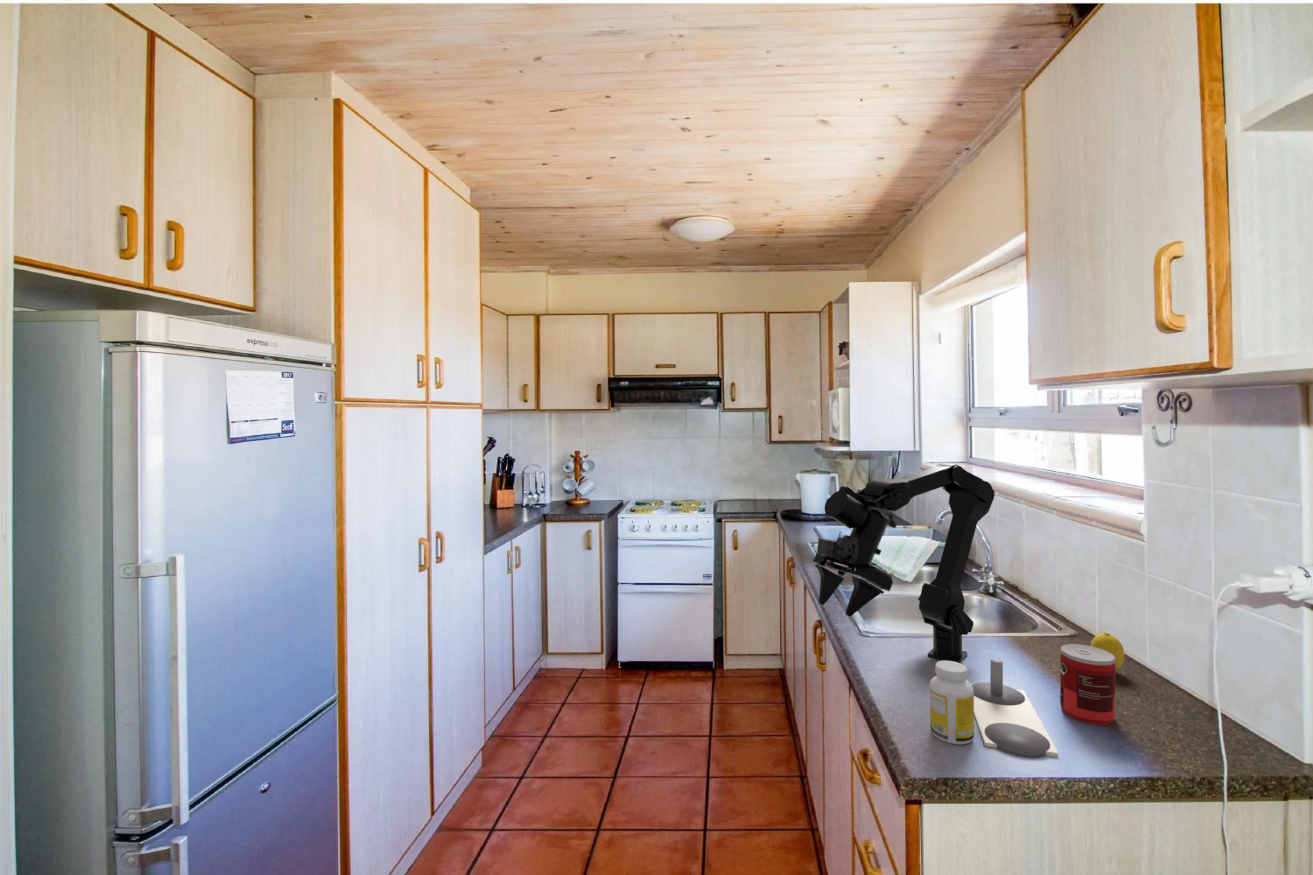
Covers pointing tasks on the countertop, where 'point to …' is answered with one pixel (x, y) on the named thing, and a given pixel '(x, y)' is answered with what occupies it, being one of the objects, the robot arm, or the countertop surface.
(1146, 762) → the countertop surface
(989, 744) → the board
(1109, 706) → the canned food
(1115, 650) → the lemon
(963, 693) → the pill bottle
